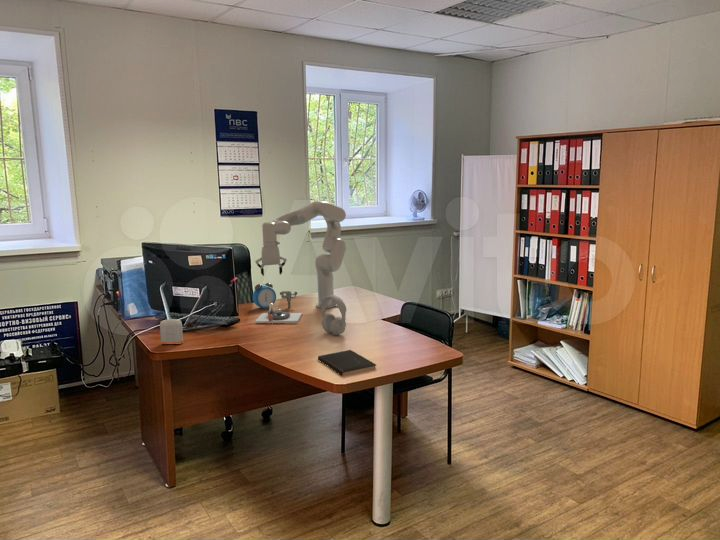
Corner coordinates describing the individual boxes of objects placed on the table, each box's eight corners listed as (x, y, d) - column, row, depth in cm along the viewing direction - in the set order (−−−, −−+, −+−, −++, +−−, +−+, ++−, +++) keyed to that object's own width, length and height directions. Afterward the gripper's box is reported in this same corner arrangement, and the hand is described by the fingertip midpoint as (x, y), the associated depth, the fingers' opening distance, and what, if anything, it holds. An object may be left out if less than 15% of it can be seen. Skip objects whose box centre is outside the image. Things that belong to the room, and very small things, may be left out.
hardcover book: (350, 354, 247) (350, 349, 246) (376, 369, 227) (376, 364, 226) (317, 361, 239) (317, 356, 239) (342, 377, 219) (341, 372, 219)
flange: (294, 316, 306) (293, 305, 305) (276, 320, 298) (275, 309, 297) (278, 311, 317) (278, 301, 316) (260, 315, 309) (260, 304, 308)
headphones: (351, 336, 272) (350, 296, 268) (338, 339, 267) (337, 299, 264) (329, 329, 286) (328, 291, 282) (317, 331, 281) (315, 293, 278)
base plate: (302, 315, 314) (301, 307, 314) (297, 323, 298) (297, 315, 297) (262, 315, 315) (261, 308, 315) (255, 324, 299) (255, 315, 298)
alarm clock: (257, 310, 328) (255, 285, 326) (252, 308, 333) (251, 284, 331) (277, 307, 336) (275, 282, 333) (272, 305, 341) (271, 281, 338)
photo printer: (184, 342, 268) (182, 317, 266) (182, 345, 264) (180, 319, 262) (162, 343, 268) (160, 318, 266) (160, 345, 264) (158, 320, 261)
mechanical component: (297, 308, 331) (296, 292, 330) (280, 308, 332) (279, 292, 330) (298, 307, 334) (297, 291, 333) (281, 307, 335) (280, 291, 333)
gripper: (284, 242, 312) (286, 272, 315) (253, 244, 308) (255, 274, 311) (286, 244, 305) (288, 274, 308) (254, 246, 301) (256, 277, 304)
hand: (271, 274), depth 310 cm, fingers open, 9 cm apart
